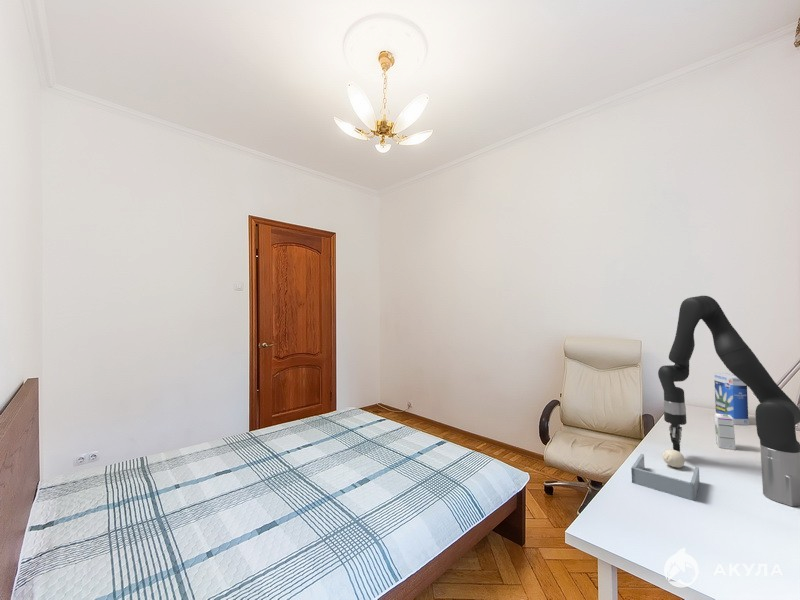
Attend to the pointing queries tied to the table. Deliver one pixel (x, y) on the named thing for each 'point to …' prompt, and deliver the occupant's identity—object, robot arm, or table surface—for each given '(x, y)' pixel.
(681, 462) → the cream rounded lump
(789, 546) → the table surface
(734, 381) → the string lights box
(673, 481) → the grey u-shaped frame
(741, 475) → the table surface
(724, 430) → the syrup box
